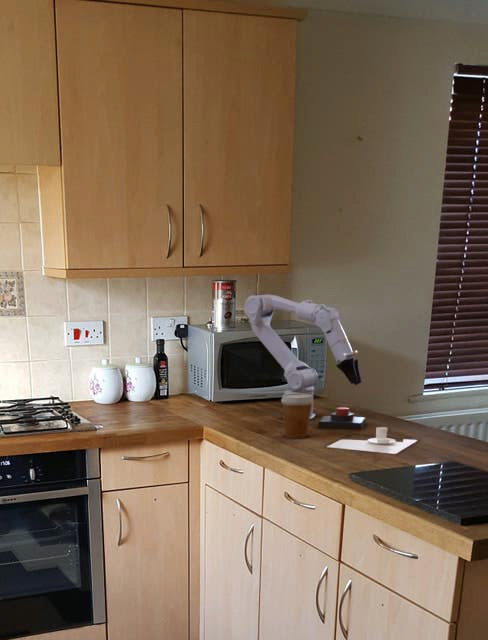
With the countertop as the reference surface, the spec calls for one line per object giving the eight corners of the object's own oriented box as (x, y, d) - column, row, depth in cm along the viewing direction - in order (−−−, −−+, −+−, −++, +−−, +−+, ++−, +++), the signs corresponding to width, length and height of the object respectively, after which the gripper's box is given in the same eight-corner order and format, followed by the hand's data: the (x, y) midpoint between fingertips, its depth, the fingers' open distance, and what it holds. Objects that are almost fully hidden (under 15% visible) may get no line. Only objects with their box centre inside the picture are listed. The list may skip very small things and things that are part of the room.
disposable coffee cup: (314, 433, 264) (316, 393, 260) (309, 440, 255) (310, 398, 251) (283, 432, 267) (284, 392, 263) (277, 438, 258) (277, 397, 254)
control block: (318, 428, 271) (318, 415, 270) (323, 422, 280) (323, 410, 279) (360, 430, 267) (361, 417, 266) (364, 424, 276) (365, 411, 275)
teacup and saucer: (389, 446, 244) (390, 432, 243) (362, 444, 248) (362, 429, 247) (399, 441, 251) (400, 426, 250) (372, 438, 255) (373, 424, 254)
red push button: (334, 415, 271) (335, 409, 271) (336, 413, 275) (337, 407, 274) (347, 416, 270) (348, 409, 269) (349, 414, 274) (349, 407, 273)
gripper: (346, 335, 266) (365, 375, 265) (354, 339, 279) (371, 378, 279) (325, 346, 268) (343, 386, 268) (334, 350, 282) (351, 388, 282)
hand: (356, 383), depth 274 cm, fingers open, 7 cm apart
